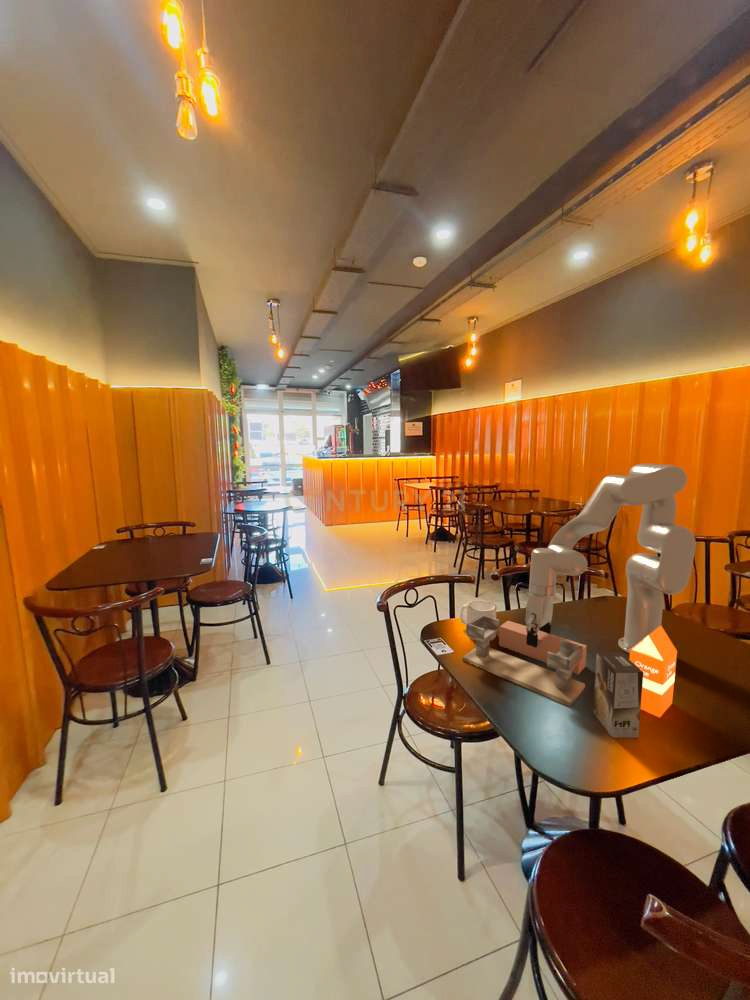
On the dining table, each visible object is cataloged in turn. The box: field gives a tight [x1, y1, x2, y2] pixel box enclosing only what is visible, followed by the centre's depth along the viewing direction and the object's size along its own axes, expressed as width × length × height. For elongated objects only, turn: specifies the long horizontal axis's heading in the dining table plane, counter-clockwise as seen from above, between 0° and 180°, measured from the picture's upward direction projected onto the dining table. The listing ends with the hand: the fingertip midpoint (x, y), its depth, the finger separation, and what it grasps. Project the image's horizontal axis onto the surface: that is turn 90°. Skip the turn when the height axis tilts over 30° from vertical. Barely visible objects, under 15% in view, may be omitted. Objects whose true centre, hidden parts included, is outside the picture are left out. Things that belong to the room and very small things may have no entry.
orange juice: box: [628, 625, 678, 718], centre depth 102 cm, size 8×9×20 cm
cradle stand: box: [462, 615, 586, 707], centre depth 117 cm, size 32×11×12 cm, turn 45°
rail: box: [498, 620, 588, 675], centre depth 127 cm, size 25×6×7 cm, turn 45°
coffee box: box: [592, 651, 643, 739], centre depth 95 cm, size 9×6×16 cm
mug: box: [459, 599, 498, 641], centre depth 142 cm, size 14×10×11 cm
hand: (538, 640), depth 127 cm, fingers open, 9 cm apart
